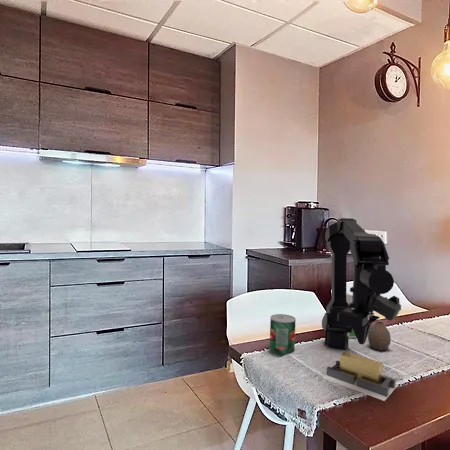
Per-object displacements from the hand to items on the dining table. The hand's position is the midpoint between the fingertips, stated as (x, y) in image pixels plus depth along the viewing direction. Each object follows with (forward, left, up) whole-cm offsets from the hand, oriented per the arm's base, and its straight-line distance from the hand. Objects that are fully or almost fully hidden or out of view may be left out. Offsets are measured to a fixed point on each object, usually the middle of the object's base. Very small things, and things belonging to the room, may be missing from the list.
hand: (361, 343), depth 93 cm
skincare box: (-16, +35, -11) cm, 40 cm away
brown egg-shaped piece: (-5, +29, -11) cm, 31 cm away
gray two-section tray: (0, 0, -10) cm, 10 cm away
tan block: (0, 0, -10) cm, 10 cm away
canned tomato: (-26, +3, -11) cm, 28 cm away
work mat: (0, 0, -11) cm, 11 cm away
